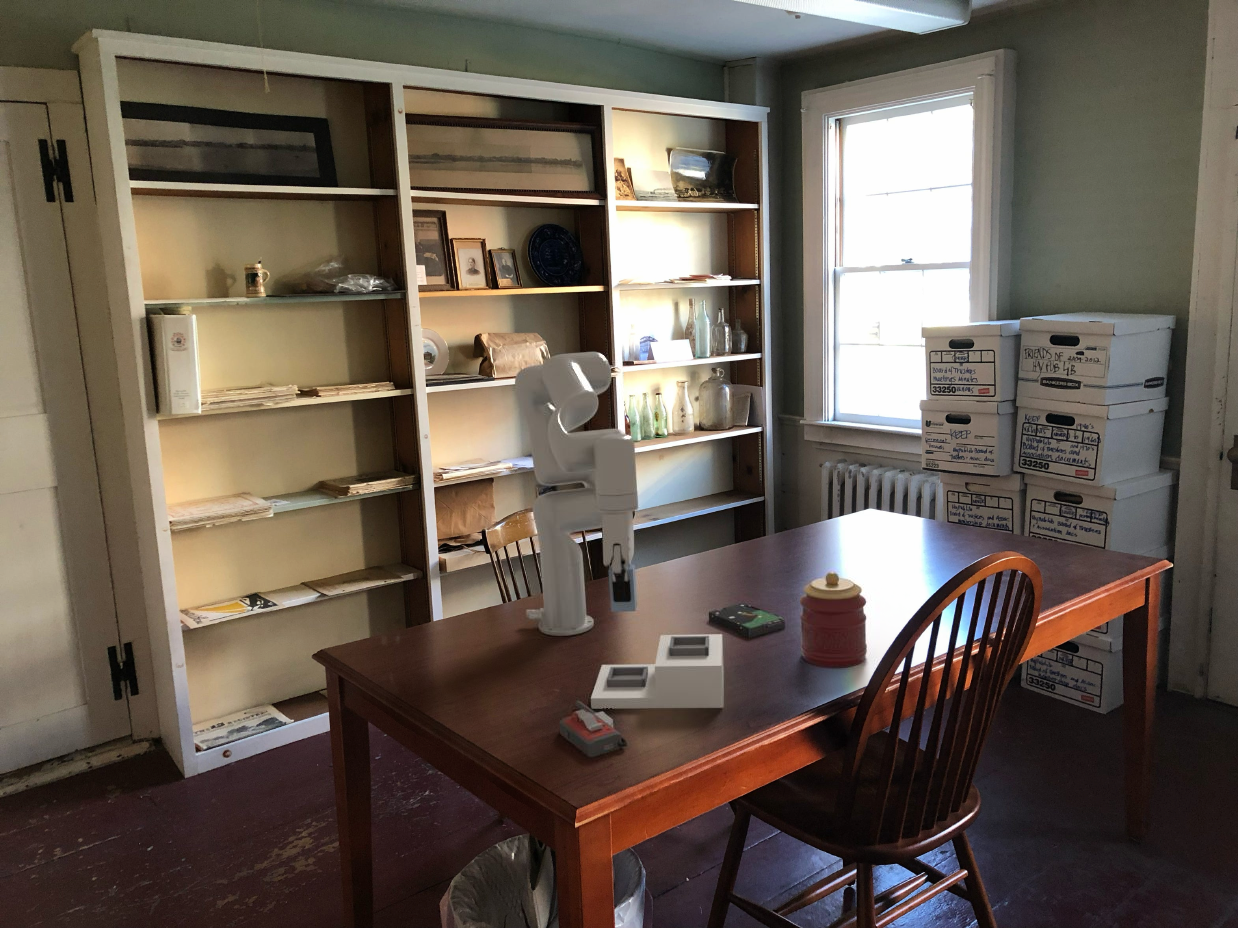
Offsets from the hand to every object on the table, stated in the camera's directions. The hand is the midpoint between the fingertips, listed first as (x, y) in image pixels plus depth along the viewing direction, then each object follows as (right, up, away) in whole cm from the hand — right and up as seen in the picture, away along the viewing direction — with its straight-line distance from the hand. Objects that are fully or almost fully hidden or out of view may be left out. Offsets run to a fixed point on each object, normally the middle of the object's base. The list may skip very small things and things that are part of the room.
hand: (623, 597), depth 180 cm
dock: (+7, -18, +3) cm, 20 cm away
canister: (+42, -14, +14) cm, 47 cm away
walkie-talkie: (-6, -22, -13) cm, 26 cm away
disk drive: (+28, -12, +36) cm, 47 cm away
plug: (0, -2, 0) cm, 2 cm away
